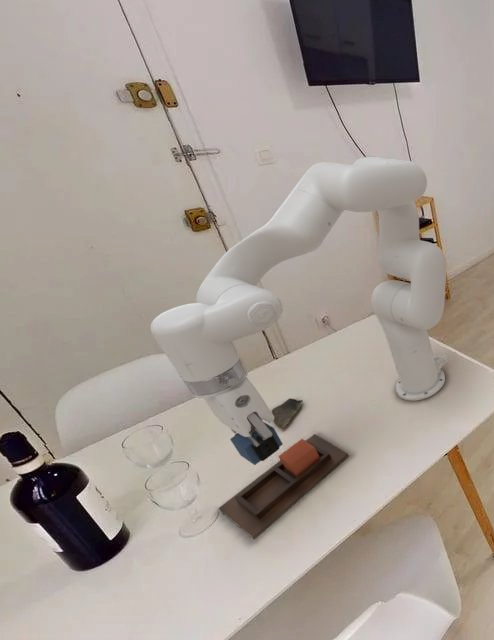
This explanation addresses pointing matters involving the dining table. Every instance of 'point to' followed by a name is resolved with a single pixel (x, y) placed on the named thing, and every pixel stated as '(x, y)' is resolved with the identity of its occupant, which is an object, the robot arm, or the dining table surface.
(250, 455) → the blue block
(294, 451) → the orange-brown block
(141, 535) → the dining table surface
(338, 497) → the dining table surface
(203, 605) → the dining table surface
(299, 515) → the dining table surface
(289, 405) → the arrowhead
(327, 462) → the dark brown flat tray
